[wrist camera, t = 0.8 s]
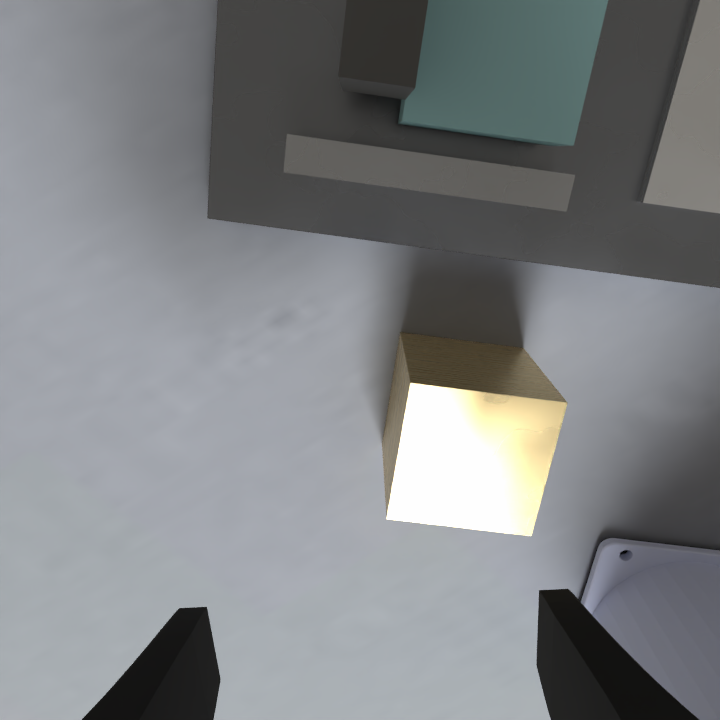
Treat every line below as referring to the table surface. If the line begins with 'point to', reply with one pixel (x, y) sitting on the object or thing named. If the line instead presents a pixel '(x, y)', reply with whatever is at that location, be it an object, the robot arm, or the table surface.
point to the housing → (468, 435)
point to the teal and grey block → (476, 63)
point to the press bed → (478, 148)
